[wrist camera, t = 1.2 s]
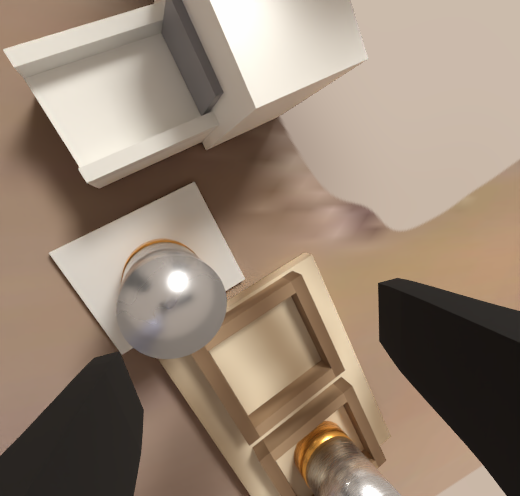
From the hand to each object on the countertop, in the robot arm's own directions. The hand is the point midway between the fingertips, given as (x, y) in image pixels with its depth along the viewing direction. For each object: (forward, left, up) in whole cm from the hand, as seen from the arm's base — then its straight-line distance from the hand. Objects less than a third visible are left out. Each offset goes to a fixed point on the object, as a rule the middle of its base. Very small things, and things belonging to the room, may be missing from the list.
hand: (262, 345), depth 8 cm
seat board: (+1, -11, -10) cm, 15 cm away
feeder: (+3, +9, -10) cm, 14 cm away
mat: (-2, +1, -10) cm, 11 cm away
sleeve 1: (-2, +1, -10) cm, 10 cm away
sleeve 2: (+1, -16, -9) cm, 18 cm away
